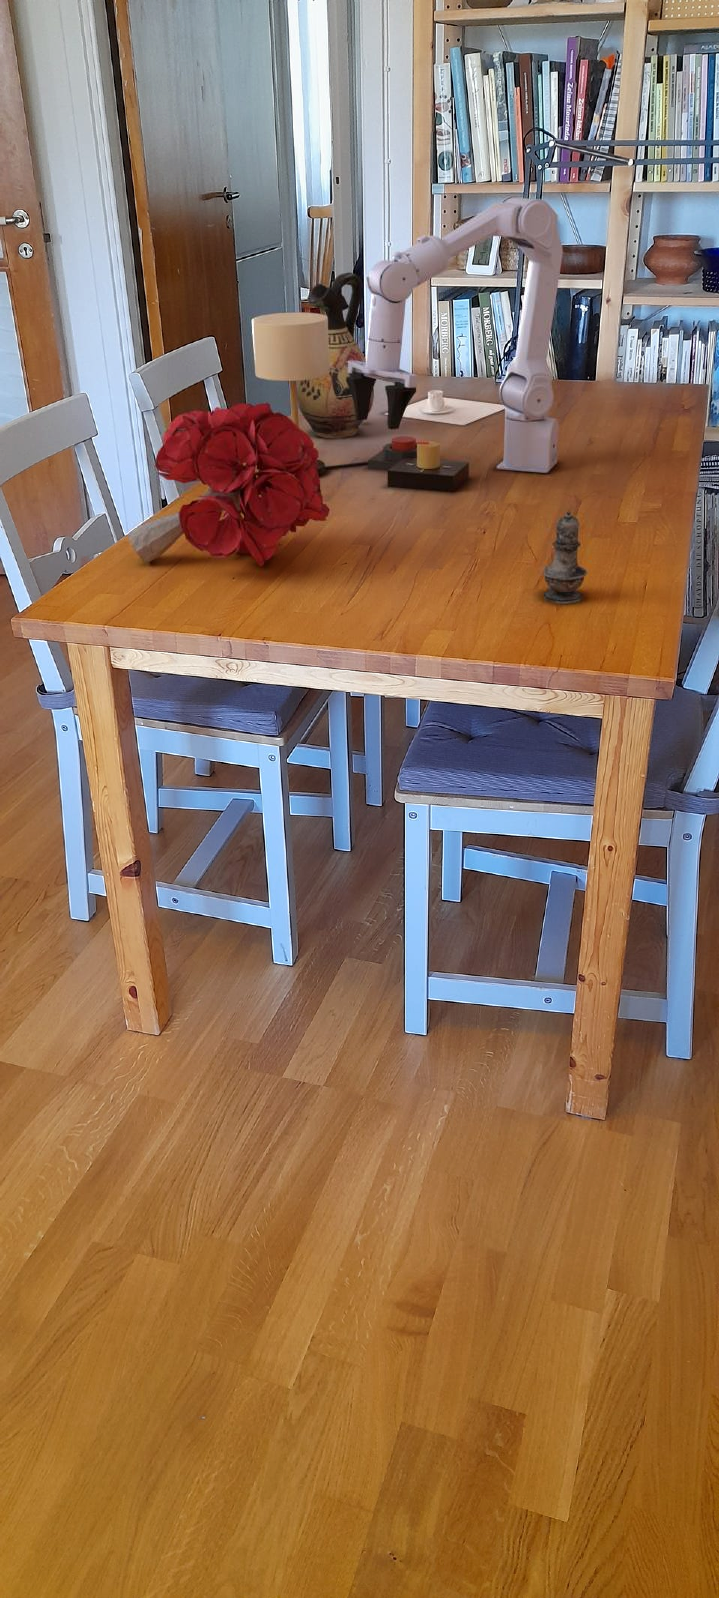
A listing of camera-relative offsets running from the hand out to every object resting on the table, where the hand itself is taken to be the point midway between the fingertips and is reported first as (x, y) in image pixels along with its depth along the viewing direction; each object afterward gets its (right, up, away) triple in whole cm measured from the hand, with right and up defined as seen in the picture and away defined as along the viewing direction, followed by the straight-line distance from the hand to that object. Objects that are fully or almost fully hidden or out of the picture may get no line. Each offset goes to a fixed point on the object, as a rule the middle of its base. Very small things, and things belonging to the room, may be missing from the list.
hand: (377, 424), depth 204 cm
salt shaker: (+25, -37, -43) cm, 61 cm away
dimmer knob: (+9, -6, +4) cm, 12 cm away
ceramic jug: (-7, +10, +39) cm, 41 cm away
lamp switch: (+5, 0, +14) cm, 15 cm away
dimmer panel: (+9, -9, +6) cm, 14 cm away
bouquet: (-22, -29, -26) cm, 45 cm away
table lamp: (-11, -4, +14) cm, 19 cm away
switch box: (+5, -3, +16) cm, 17 cm away
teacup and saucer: (+16, +20, +54) cm, 60 cm away
